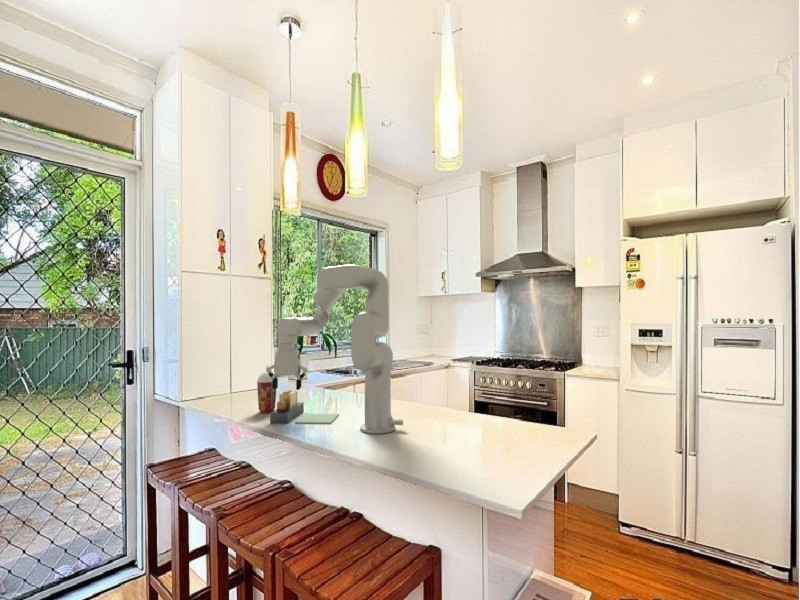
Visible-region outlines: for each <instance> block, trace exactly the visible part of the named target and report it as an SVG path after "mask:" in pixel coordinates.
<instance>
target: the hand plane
mask: <svg viewBox="0 0 800 600" xmlns="http://www.w3.org/2000/svg"><path fill="white" fill-rule="evenodd" d="M295 391H296V406H295V407H293V408H292V409H291V407H285V402H279V401H277V402H276V408H275V409H274V411H273V412H271V413H269V424H280V425H281V424H283V425H284V424H289V423H290V422H292V421H293V420H294V419H296V418H297V417H298V416H300V415H301V414H303V413H304V412H305V411H304V407H305V406H304V405H305V403H304V402H302V401H298V390H295Z"/></svg>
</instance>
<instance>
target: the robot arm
mask: <svg viewBox="0 0 800 600" xmlns="http://www.w3.org/2000/svg"><path fill="white" fill-rule="evenodd" d="M316 282H317V285H318V287H319V288H318V289H317V291H316V292H315V293H314V294H313V296H312V298H313V301H314V303H315V305H316V306H318V307H317V309H316V311H314V313H313V314H312V315H311V316H310V317H309V316H308V317H307V316H306V317H305V316H303V317H299V316H298V317H281V318H279V320H278V345H277V346H278V349H277V350H276V351H275V358H274V364H272V365H271V366H268V368H267V369H266V368H265V370H267V372H268V375H269V376H270V377H271V379H273V381H272V386H273V389H276V390H277V389H278V388H279V386H278V385H279V382H278V381H279V378H278V376H295V378H296V384H295V389H296V390H295V391H298V390H301V388H302V380H303V379H304V377H306V375H307V373H308V371H309V368H308V367H305V366H303V365H302V363H301V354H300V350H298V349H301V345H300V344H298V343H299V342H298V337H304V336H314V335H316V334H319V333H320V332H321V331H322V330H323V328H325V326H326V325H327V324H328V322H329V320H330V317H331V313H332V307H333V306H334V305H335V304H336V303H337V302H338V300H339V299H341V297H342V296H343V294H344V293H345V292H346V290H347V289H357V290H365V291H367V294H366V297H365V300H364V301H365V303H364V305H365V309H364V310H365V311H362V312H359V313H358V314H356V316H355V317H354V318H353V319H352V322H351V325H350V352H351V354H350V355H351V361H352V365H354V367H355V369H357V370H359V371H362V372H365V374H364V423H363V424H362V425H360V431H361V432H363V433H365V434H373V435H374V434H375V435H379V434H380V435H382V434H389V433H392V432H393V431H395V430H396V426H403V425H404V419H401V418H394V417H393V414H392V409H391V408H392V406H391V405H392V399H391V398H392V395H391V392H392V391H391V387H392V382H391V381H392V365H393V360H394V355H393V350H392V348H391V346H390V345H389V344H388V343H386V342H383V341H376V339H379V338H380V339H381V338H383V337H385V336H386V335H387V334H388V332H389V329H390V320H389V318H390V316H389V315H390V312H389V311H390V309H389V307H390V306H389V294H390V293H389V290H390V289H389V281H388V278H387V277H386V276H385V274H384V273H383V272H381V271H379V270H378V269H376V268H372V267H369V266H363V265H358V264H343V265H335V266H327V267H324V268H322V269H321V270H320V271H319V272H318V274H317V276H316ZM272 370H273V371H272ZM302 371H303V372H302ZM301 372H302V373H301Z"/></svg>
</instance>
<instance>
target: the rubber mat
mask: <svg viewBox="0 0 800 600" xmlns="http://www.w3.org/2000/svg"><path fill="white" fill-rule="evenodd" d="M339 416H340V413H305V414H304V415H303V416H301V417H300V418H299V419H297V420H296V421H295V424H297V425H302V424H303V425H304V424H305V425H312V424H314V425H332V424H333V423H334V422H335V420H336V419H337V418H338V417H339Z"/></svg>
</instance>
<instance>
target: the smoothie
mask: <svg viewBox="0 0 800 600" xmlns="http://www.w3.org/2000/svg"><path fill="white" fill-rule="evenodd" d="M265 367H266V368H265V370H266V369H267V368H268V367H269V365H266V366H265ZM256 381H257V383H256V384H257V385H256V387H257V404H258V411H259V413H260V414H270V413H271V412H273V411H274V410H276V403H277V402H276V400H277V388H276V389H273V386H272V381H273V379H271V377H270V376H269V375H268V372H267V370H266V371H264V372H263V373H261V374H260V375H259V377H258V378H257V380H256Z"/></svg>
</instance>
